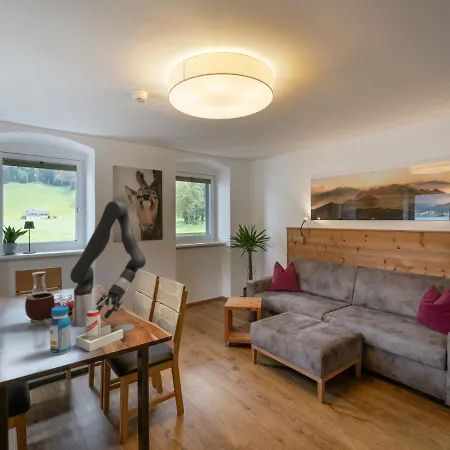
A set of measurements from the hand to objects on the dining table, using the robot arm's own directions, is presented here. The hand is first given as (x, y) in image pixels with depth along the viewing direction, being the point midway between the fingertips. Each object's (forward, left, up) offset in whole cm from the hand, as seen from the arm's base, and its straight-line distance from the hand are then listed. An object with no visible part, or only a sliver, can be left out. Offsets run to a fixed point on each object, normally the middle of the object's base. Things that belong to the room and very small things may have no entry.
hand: (100, 316), depth 143 cm
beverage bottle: (-13, -11, -13) cm, 21 cm away
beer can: (-2, -3, -13) cm, 13 cm away
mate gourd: (-43, +16, -13) cm, 48 cm away
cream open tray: (0, 0, -12) cm, 12 cm away
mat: (+5, +16, -12) cm, 21 cm away
